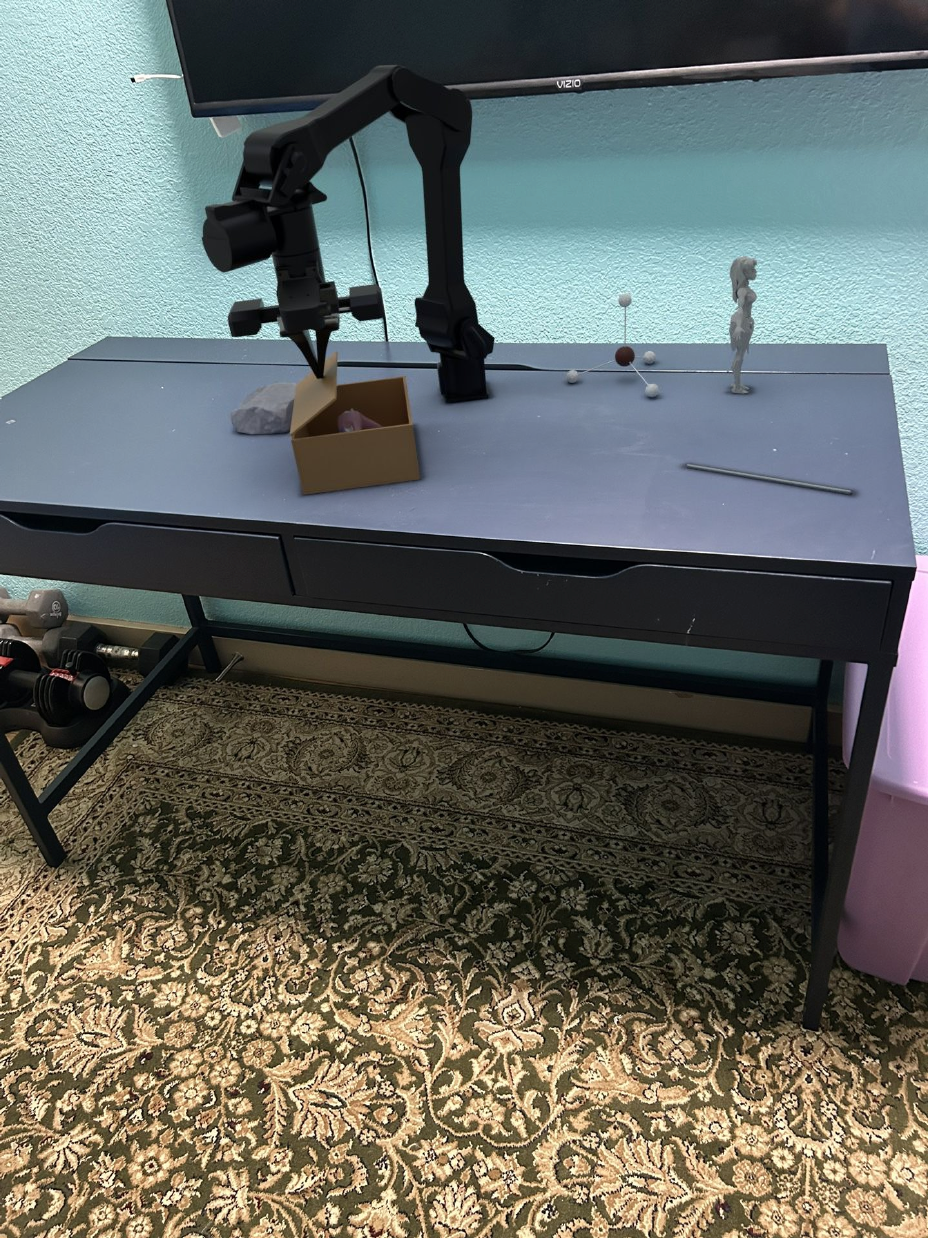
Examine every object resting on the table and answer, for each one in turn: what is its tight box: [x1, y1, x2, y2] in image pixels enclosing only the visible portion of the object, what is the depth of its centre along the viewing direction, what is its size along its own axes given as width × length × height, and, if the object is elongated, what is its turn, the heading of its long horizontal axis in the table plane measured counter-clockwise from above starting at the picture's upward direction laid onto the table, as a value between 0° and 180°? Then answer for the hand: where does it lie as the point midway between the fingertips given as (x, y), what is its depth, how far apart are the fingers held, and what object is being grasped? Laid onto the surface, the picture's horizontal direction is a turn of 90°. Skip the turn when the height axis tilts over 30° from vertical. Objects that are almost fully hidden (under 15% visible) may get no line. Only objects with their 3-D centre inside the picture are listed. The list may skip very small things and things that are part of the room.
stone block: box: [229, 381, 299, 436], centre depth 133 cm, size 12×5×10 cm
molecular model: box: [565, 293, 660, 398], centre depth 128 cm, size 13×15×13 cm
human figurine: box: [728, 255, 758, 394], centre depth 121 cm, size 12×4×18 cm, turn 163°
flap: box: [289, 351, 339, 437], centre depth 114 cm, size 17×7×1 cm
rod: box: [686, 463, 853, 496], centre depth 104 cm, size 1×19×1 cm, turn 59°
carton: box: [290, 375, 421, 496], centre depth 117 cm, size 17×15×7 cm
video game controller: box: [338, 409, 382, 433], centre depth 118 cm, size 10×5×7 cm, turn 6°
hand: (320, 377), depth 115 cm, fingers closed
